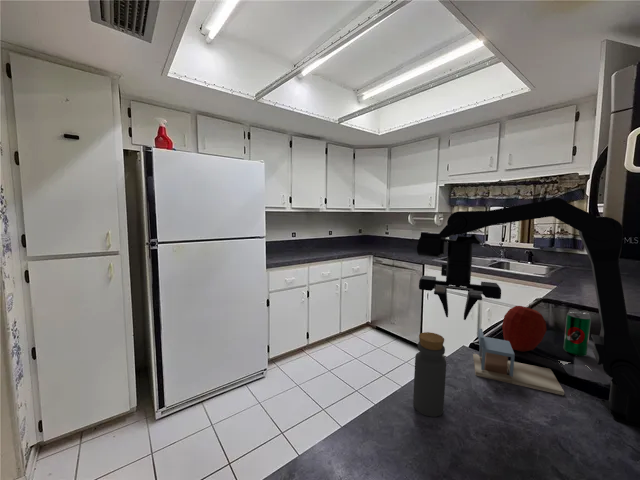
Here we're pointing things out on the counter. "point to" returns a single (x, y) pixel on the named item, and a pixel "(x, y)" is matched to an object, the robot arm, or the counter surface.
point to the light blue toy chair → (495, 349)
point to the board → (523, 376)
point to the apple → (523, 328)
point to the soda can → (577, 332)
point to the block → (496, 363)
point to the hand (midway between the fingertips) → (455, 318)
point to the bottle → (430, 375)
